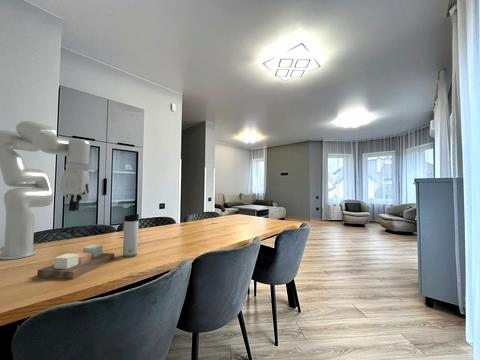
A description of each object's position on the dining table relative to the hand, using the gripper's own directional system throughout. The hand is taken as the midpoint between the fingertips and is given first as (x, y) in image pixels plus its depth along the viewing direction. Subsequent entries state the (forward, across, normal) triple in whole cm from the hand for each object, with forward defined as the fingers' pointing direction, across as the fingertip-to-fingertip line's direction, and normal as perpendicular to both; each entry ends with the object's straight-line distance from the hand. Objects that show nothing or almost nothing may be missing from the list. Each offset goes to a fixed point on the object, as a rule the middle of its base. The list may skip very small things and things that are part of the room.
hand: (73, 210), depth 92 cm
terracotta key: (+21, +8, -3) cm, 23 cm away
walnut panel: (+22, +8, -3) cm, 24 cm away
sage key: (+20, +8, +4) cm, 22 cm away
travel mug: (+22, +19, +14) cm, 32 cm away
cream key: (+20, +8, -9) cm, 23 cm away
